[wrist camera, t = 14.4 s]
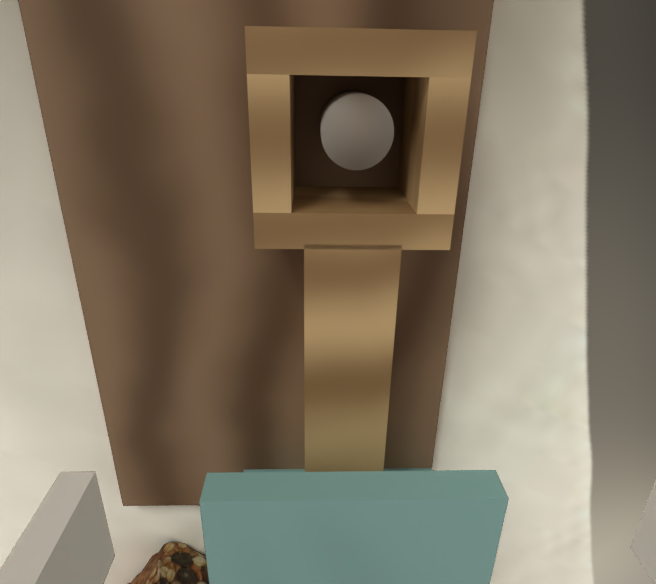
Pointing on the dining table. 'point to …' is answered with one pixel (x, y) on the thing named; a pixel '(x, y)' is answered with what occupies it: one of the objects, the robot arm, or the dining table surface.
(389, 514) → the block
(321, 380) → the wooden square socket bar
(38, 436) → the dining table surface
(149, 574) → the bread
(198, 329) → the pintle board
